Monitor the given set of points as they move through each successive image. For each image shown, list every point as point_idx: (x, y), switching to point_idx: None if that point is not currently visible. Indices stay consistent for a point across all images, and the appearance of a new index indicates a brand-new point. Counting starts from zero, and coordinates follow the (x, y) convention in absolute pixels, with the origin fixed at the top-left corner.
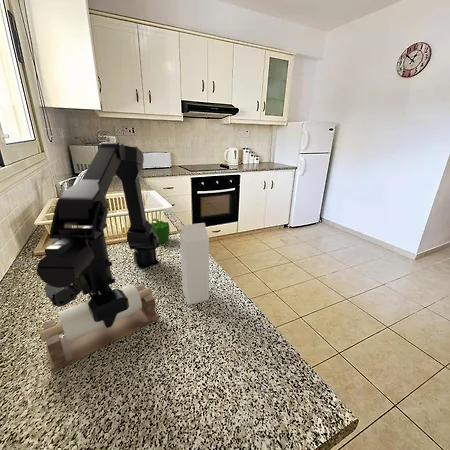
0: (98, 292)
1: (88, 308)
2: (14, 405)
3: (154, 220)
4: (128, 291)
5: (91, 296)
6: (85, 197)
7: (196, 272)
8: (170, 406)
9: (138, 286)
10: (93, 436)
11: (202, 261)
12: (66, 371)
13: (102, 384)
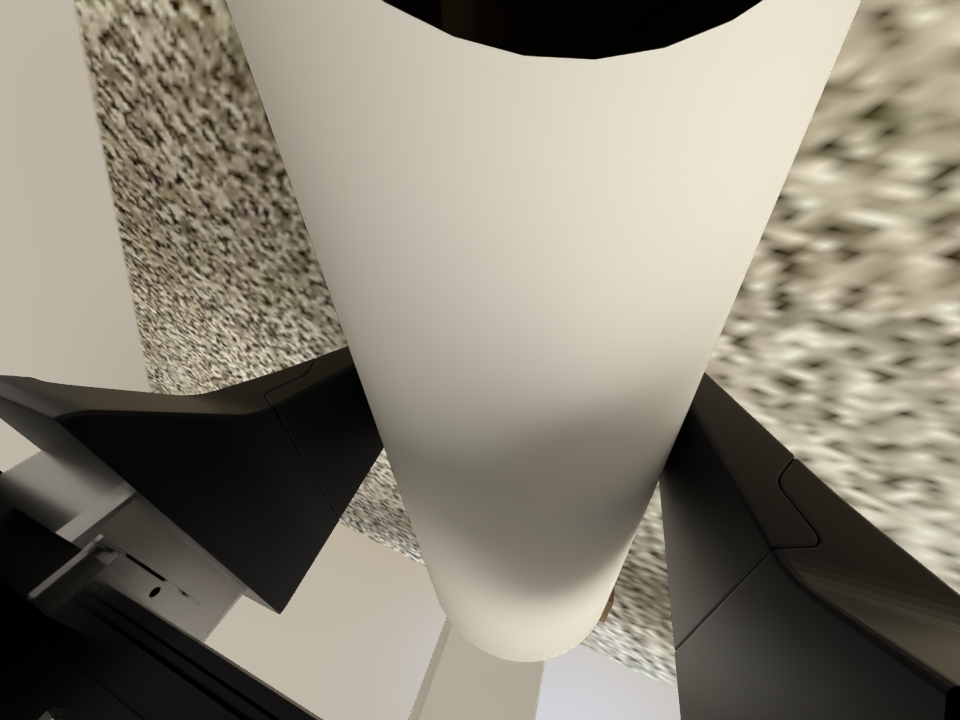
0: (194, 713)
1: (57, 417)
2: None
3: None
4: (453, 613)
5: (734, 498)
6: None
7: (421, 695)
8: (196, 299)
9: (606, 610)
10: (108, 70)
11: None
12: None
13: (275, 158)
